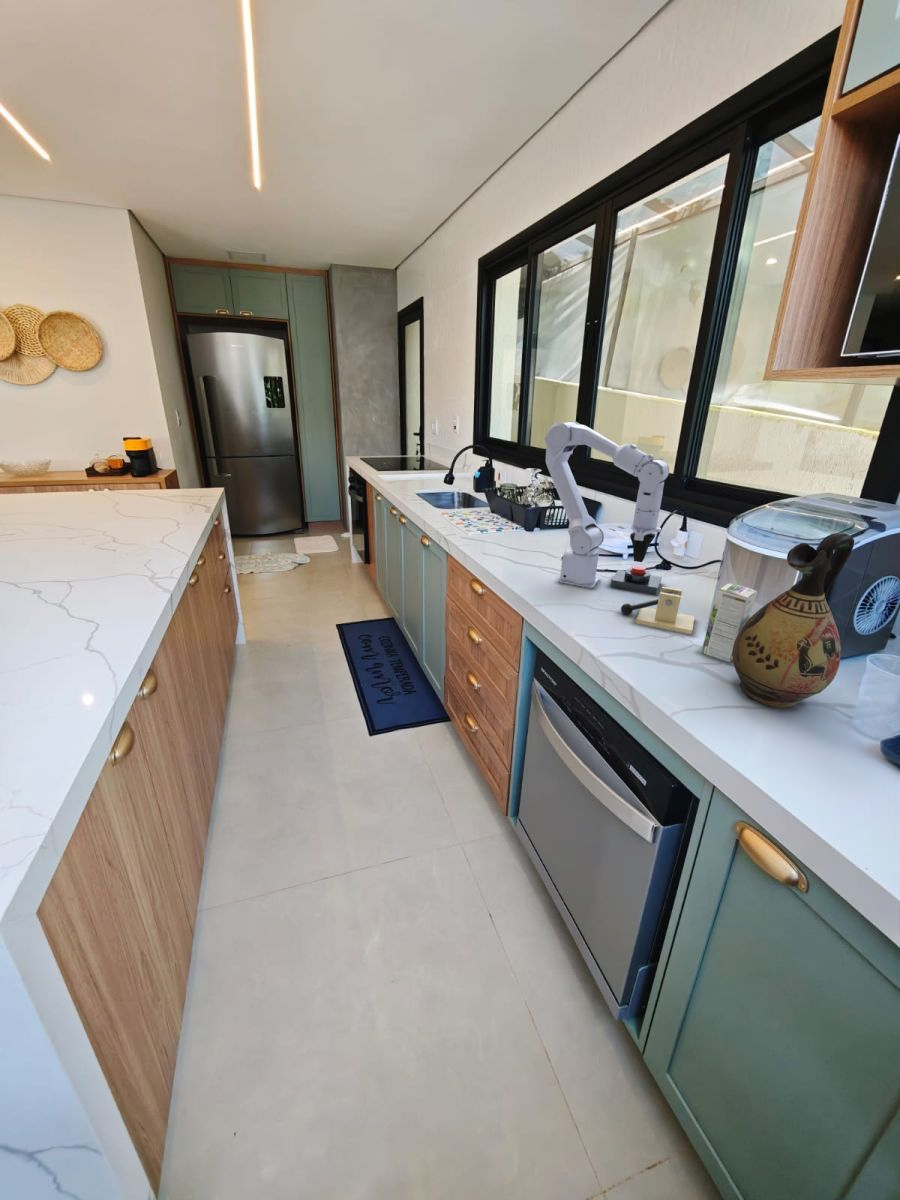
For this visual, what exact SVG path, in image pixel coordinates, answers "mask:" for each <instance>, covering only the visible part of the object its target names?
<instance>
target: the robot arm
mask: <svg viewBox="0 0 900 1200" xmlns="http://www.w3.org/2000/svg"><path fill="white" fill-rule="evenodd" d="M544 442H545V443H546V445H545V446H546V448H545V464H546V468H547V469H548V472H549V474H550V477H551V480H552V482H553V485H554V487H555V489H556V492H557V494H558V497H559V499H560V502H561V505H562V507H563V509H564V512H565V515H566V517H567V519H568V522H569V524H568V530H567V533H568V535H569V547H570V548H571V549H565V550H564V552H563V555H562V558H561V559H562V560H561V568H560V577H559V583H561V584H566V585H571V586H578V587H582V588H587V589H594V587H595V586H596V585H597V583H598V582H599V580H600V579H599V578H597V577H596V576H597V571H598V562H599V555H600V549H599V547H600V546H601V545H602V544H603V543H604V539H605V534H604V531H603V530H602V528H601V527H600V526H598V524H597V523H596V519H594V517H592V516H591V515H589V513H588V509H587V507H586V505H585V502H584V499H583V497H582V495H581V493H580V490H579V487H578V485H577V482H576V480H575V477H574V475H573V473H572V470H571V467H570V465H569V463H568V461H569V458H570V457H571V454H572V452H573V451H574V449H575V448H576V447H577V446H583V445H584V446H585V445H586V446H588V447H589V448H591V449H593V450H596V451H597V452H599V453H601V454H604V455H606V456H608V457H609V458H611V459H612V462H613V465H614V466H616V467H617V468H619V469H621V470H623V471H625V472H626V473H627V474H630V475H632V476H633V477H636V478H637V479H638V482H639V486H638V491H637V497H636V503H635V509H634V515H633V519H632V521H633V522H632V525H631V530H632V531H633V532H631V533H630V535H629V538H630V540H631V544H632V555H633V557H632V558H633V562H637V563H643V562H644V560H645V557H646V555H647V552H648V550H649V547H650V545H651V543H652V541H654V539H655V538H656V534H655V533H657V532H658V533H660V532H662V528H661V527H658V521H659V517H660V516H659V515H660V510H661V506H662V499H663V494H664V486H665V481H666V479H667V478H668V476H669V474H670V467H669V464H668V463H667V462H666V461H665V460H664V459H663V458H659V457H658V458H654V457H655V456H654V454H651V453H646V452H643V450H642V451H641V450H639V449H638V446H637V445H636V444H634V443H631V444H629V443H625V444H622V445H619V444H617V443H615V442H614V441H612V440H611V439H609V438H607V437H605V436H604V435H602V434H601V433H599V432H597V431H596V430H594V429H592V428H590V427H588V426H587V425H585V424H580V423H579V422H577V421H573V420H572V421H568V422H554V423H553V424H552V425H551V426H550V427H549V428H548V431H547V433H546V435H545V436H544Z"/></svg>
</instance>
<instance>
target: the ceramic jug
mask: <svg viewBox="0 0 900 1200" xmlns="http://www.w3.org/2000/svg"><path fill="white" fill-rule="evenodd" d="M854 546H855V539H854V538H853V536H852V535H850V534H848V533H844V532H842V533H835V532H834V533H831V534H829V535H827V536H825V537H824V538H823V539H822V540H821V541H820V542H819V544H818V545H817V547H816V548H815V547H813V546H811V545H810V544H809V543H806V542H800V543H799V544H796V545H794V546H793V547H792V548H791V549H789V551H788V552H787V555H786V562H787V565H789V566H790V567H791V568H792V569H794V570H795V571H798V572H800V573H801V574H802V575H801V578H800V580H798V581H796V583H795V584H793V585H792V586H791V587H790V588H789V589H788V590H785V591H784V592H782V593H780V594H779V595H777V596H776V597H775V598H774V599H772V600H770V601H769V602H767V603H766V604H765V605H764V606H763V605H762V607H761V608H759V609H758V610H757V611H756V612H754V613H753V614H752V615H751V616H750V619H749V620H748V621H747V622H746V623H745V625H744V626H743V628H742V629H741V631H740V632H739V634H738V635H737V637H736V639H735V642H734V645H733V651H732V656H733V660H732V663H733V667H734V670H735V672H736V675H737V676H738V679H739V680H740V682H739V684H738V685H739V688H740V689H741V691H742V693H743V694H744V695H745V696H746V697H747V698H748V699H751V700H754V701H757V702H758V703H761V704H763V705H766V706H769V707H772V708H780V709H786V708H793V707H795V706H796V705H798V704H799V703H800V702H802V701H805V700H807V699H809V698H811V697H815V696H816V695H819V694H821V692H823V691H824V690H825V689H827V688H828V686H830V685H831V683H832V682H833V681H834V680H835V677H836V676H837V673H838V670H839V667H840V663H841V657H842V647H841V639H840V635H839V630H838V628H837V624H836V622H835V619H834V616H833V613H832V610H831V608H830V606H829V605H828V602H827V597H828V593H829V591H830V588H831V587H832V586H833V584H834V582H835V580H836V578H837V577H838V576H839V574H840V573H841V572H842V571H843V568H844V566H845V564H846V563H847V562H848V560H849V558H851V555H852V552H853V549H854V548H855V547H854Z"/></svg>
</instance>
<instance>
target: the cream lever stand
mask: <svg viewBox="0 0 900 1200" xmlns="http://www.w3.org/2000/svg"><path fill="white" fill-rule="evenodd" d="M673 591H675V593H676V595H674V594H669V592H673ZM682 594H683V589H679V588H672V587H666V586H662V587H661V590H660V592H659V596H658V599H659V600H658V605H656V608H653V607H650V606H649V607H645V608H641V609H639V612H638V614H637V617H636V619H635V624H637V625H642V626H647V627H652V628H656V629H660V630H661V629H662V630H665V631H671V632H676V633H681V634H686V635H690V636H691V635H692V634H693V629H694V623H695V617H696V616H695V615H691V614H686V613H682V612H681V613H680V612H679V609H680V608H679V607H680V603H681V599H682Z"/></svg>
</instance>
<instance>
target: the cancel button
mask: <svg viewBox="0 0 900 1200" xmlns="http://www.w3.org/2000/svg"><path fill="white" fill-rule="evenodd" d="M631 569H632V570H631V573H633V574H637V575H644V574H645V570H646V571H647V569H646V567H645V566H642V565H632V566H631Z"/></svg>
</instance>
